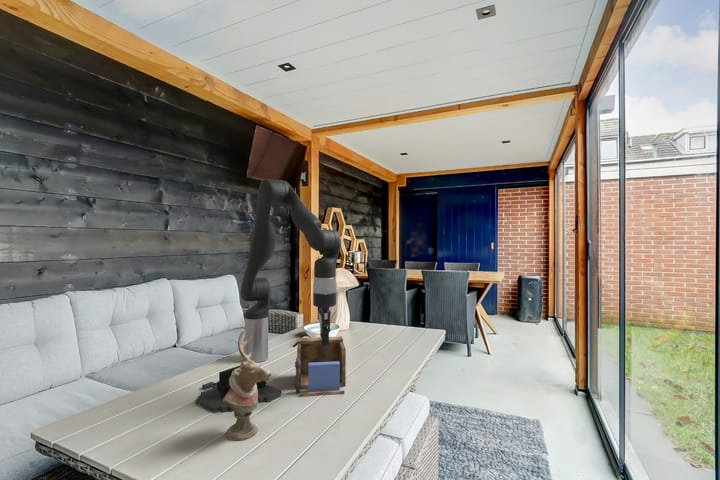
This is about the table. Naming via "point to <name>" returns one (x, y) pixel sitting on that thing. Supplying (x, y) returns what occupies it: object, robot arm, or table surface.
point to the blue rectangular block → (323, 376)
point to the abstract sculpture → (215, 396)
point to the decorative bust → (244, 393)
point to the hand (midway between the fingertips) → (324, 340)
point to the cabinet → (316, 352)
